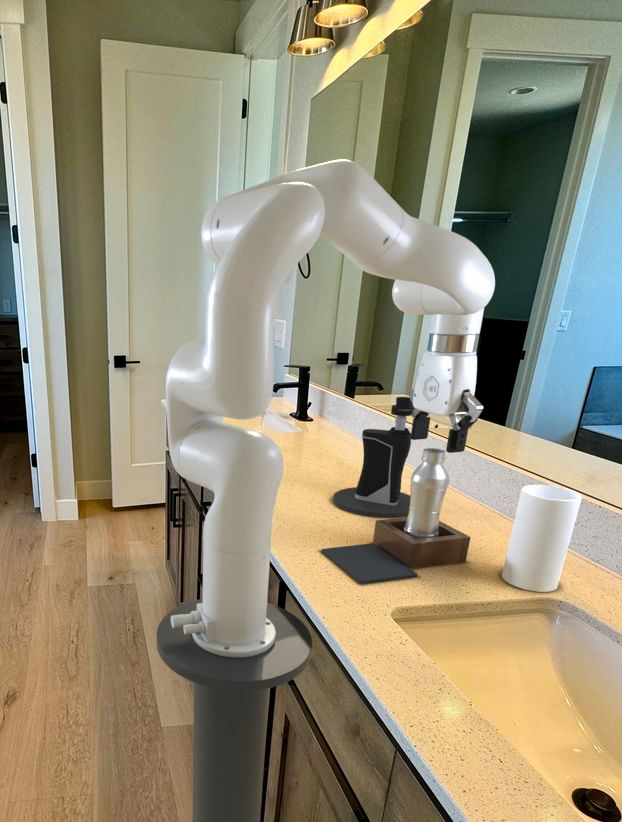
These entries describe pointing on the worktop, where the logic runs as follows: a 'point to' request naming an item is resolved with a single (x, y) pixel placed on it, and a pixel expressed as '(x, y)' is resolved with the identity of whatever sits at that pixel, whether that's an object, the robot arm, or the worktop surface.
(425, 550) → the brown wooden box
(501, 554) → the worktop surface
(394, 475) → the vape
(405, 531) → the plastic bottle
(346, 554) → the mat
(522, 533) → the cup
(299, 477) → the worktop surface
